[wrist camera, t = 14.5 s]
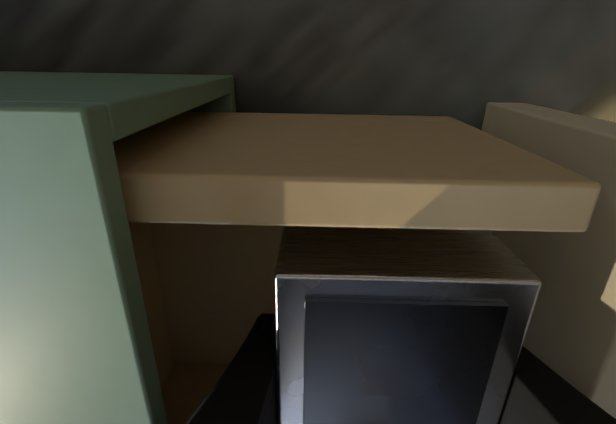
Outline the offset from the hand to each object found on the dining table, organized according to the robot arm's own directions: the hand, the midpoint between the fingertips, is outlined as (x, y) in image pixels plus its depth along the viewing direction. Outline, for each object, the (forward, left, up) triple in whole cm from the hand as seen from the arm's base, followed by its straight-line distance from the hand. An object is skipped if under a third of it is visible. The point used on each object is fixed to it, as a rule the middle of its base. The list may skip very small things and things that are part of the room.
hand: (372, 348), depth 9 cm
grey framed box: (0, 0, -1) cm, 1 cm away
